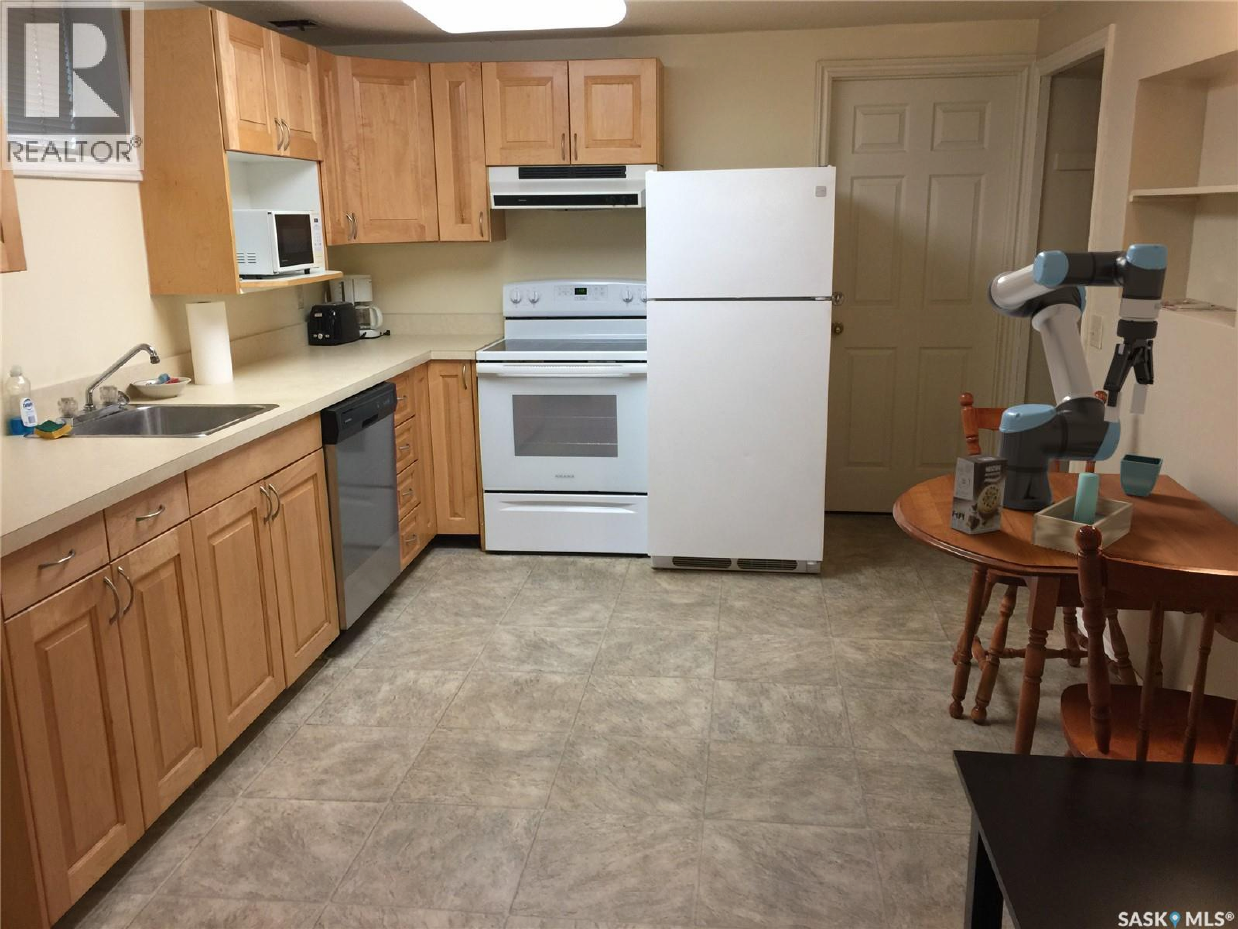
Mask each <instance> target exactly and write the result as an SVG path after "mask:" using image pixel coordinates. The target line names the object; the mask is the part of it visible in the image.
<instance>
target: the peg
mask: <svg viewBox="0 0 1238 929" xmlns="http://www.w3.org/2000/svg"><path fill="white" fill-rule="evenodd" d="M1078 474H1079V475H1078V481H1077V489H1076V493H1077V496H1076V504H1075V511H1074V519H1073V522H1077V523H1082V524H1087V525H1093V524H1094V518H1095V511H1096V503H1097V497H1099V495H1098V494H1099V486H1100V478H1101V476H1100V474H1098V473H1093V472H1092V473H1091V472H1080V473H1078Z"/></svg>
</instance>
